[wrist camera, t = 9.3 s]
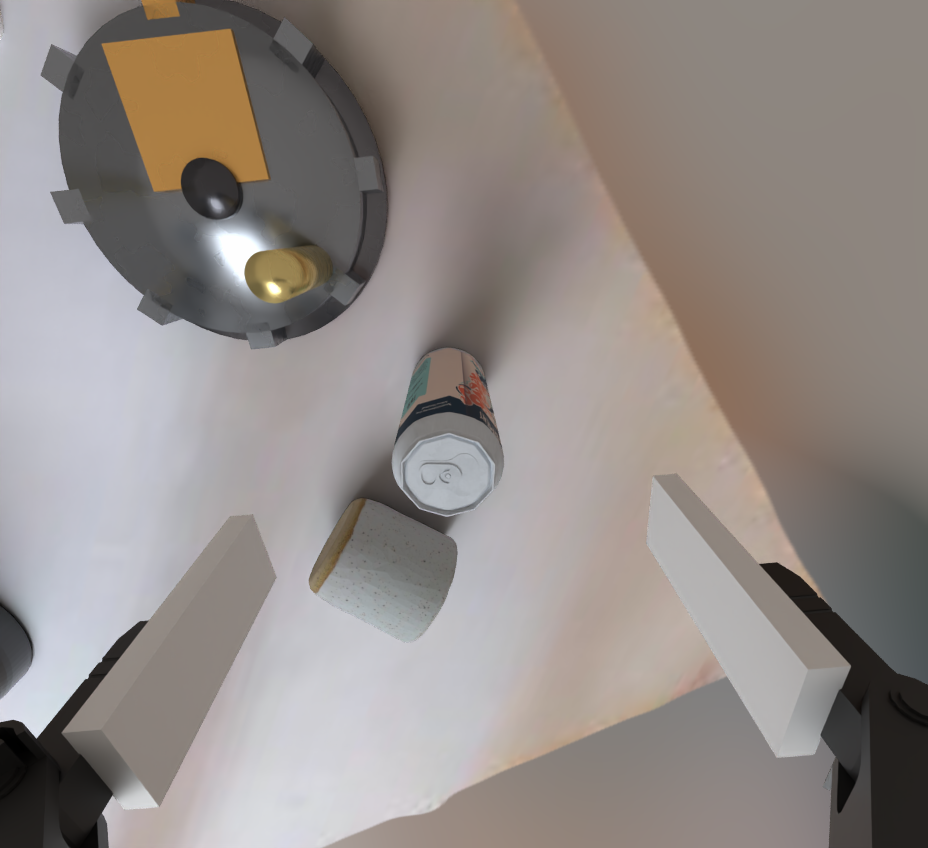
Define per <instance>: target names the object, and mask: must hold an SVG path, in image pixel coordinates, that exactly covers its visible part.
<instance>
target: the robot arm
mask: <svg viewBox="0 0 928 848" xmlns="http://www.w3.org/2000/svg"><path fill="white" fill-rule="evenodd" d="M646 544H647V545H648V547H649V548H650V550H651V552H652V553H653V555H654V557H655V558H656V560H657V562H658V563H659V565H660V567H661V568H662V570H663V571H664V573H665V575H666V576H667V578H668V580H669V581H670V583H671V585H672V586H673V588H674V590H675V591H676V593H677V594H678V596H679V598H680V599H681V601H682V603H683V604H684V606H685V608H686V609H687V611H688V613H689V614H690V616H691V617H692V619H693V621H694V622H695V624H696V626H697V627H698V629H699V631H700V632H701V634H702V636H703V637H704V639H705V640H706V642H707V644H708V645H709V647H710V649H711V650H712V652H713V654H714V655H715V657H716V659H717V660H718V662H719V663H720V665H721V667H722V668H723V670H724V672H725V673H726V675H727V677H728V678H729V679H730V681H731V683H732V685H733V686H734V688H735V690H736V691H737V693H738V695H739V696H740V698H741V700H742V701H743V703H744V704H745V706H746V708H747V709H748V711H749V713H750V714H751V716H752V718H753V719H754V721H755V723H756V724H757V726H758V728H759V729H760V731H761V732H762V734H763V736H764V737H765V739H766V741H767V742H768V744H769V745H770V747H771V749H772V751H773V752H774V754H775V755H776V757H777V758H778V757H791V756H803V755H814V754H815V751H816V749H817V747H818V744H819V742H820V739H821V737H822V738H823V739H824V741H825V742H826V744H827V745H828V746H829V748H830V749H831V751H832V752H833V753H834V755H835V756H836V758H835V760H834V762H833V764H832V767H831V769H830V771H829V773H828V775H827V778H826V780H825V783H824V785H823V787H824V788H826V789H827V790H829V791H830V790H831V811H830V834H829V848H928V685H927V684H925V683H922V682H921V681H919V680H917V679H915V678H911V677H908V676H904V675H901V674H897V673H896V672H895V671H894V670H892V669H891V668H890V667H889V666H888V665H887V664H886V663H885V662H884V661H883V660H882V659H881V658H880V657H879V656H878V655H877V654H876V653H875V652H874V651H873V650H872V649H871V648H870V647H869V646H868V645H867V644H866V643H865V642H864V641H863V640H862V639H861V638H860V637H859V636H858V635H857V634H856V633H855V632H854V631H853V630H852V629H851V628H850V627H849V626H848V624H846V623H845V621H843V619H841V617H840V616H839V615H838V614H837V613H835V612H833V611H832V608H831V607H830V606H829V605H828V604H827V603H826V602H825V601H824V600H823V599H822V598H821V597H820V598H819V597H818V596H817V593H816V592H815V591H814V590H813V589H812V588H811V587H810V586H809V585H808V584H807V583H806V582H805V581H804V580H803V579H802V578H801V577H800V576H798V575H797V574H795V573H793V572H792V571H790V570H789V569H787V568H785V567H784V566H782V565H780V564H779V563H777V562H776V563H765V564H758V563H757V562H756V560H755V559H754V558H753V557H752V556H751V555H750V554H749V553H748V552H747V550H746V549H745V548H744V547H743V546H742V545H741V544H740V543H739V542H738V541H737V539H736V538H735V537H734V536H733V535H732V534H731V533H730V532H729V531H728V530H727V528H726V527H725V526H724V525H723V524H722V523H721V522H720V521H719V520H718V518H717V517H716V516H715V515H714V514H713V513H712V512H711V511H710V510H709V509H708V507H707V506H706V505H705V504H704V503H703V502H702V501H701V500H700V499H699V497H698V496H697V495H696V494H695V493H694V492H693V491H692V490H691V489H690V488H689V486H688V485H687V484H686V483H685V482H684V481H683V480H682V479H681V478H680V477H679V475H678V474H667V475H657V476H653V480H652V490H651V500H650V510H649V521H648V531H647V541H646ZM275 579H276V575H275V572H274V569H273V567H272V564H271V561H270V559H269V556H268V553H267V551H266V548H265V545H264V543H263V540H262V538H261V535H260V532H259V530H258V527H257V524H256V522H255V519H254V516H253V514H252V515H242V516H231V517H229V519H228V520H227V521H226V522H225V524H224V525H223V526H222V528H221V529H220V530H219V531H218V533H217V534H216V535H215V537H214V538H213V539H212V540H211V542H210V543H209V544H208V545H207V547H206V548H205V549H204V551H203V552H202V553H201V554H200V556H199V557H198V558H197V560H196V561H195V562H194V563H193V565H192V566H191V567H190V569H189V570H188V571H187V572H186V574H185V575H184V576H183V578H182V579H181V580H180V581H179V583H178V584H177V585H176V587H175V588H174V589H173V590H172V592H171V593H170V594H169V596H168V597H167V598H166V599H165V601H164V602H163V603H162V605H161V606H160V607H159V608H158V610H157V611H156V612H155V614H154V615H153V616H152V617H151V619H150V620H149V621H140V622H138V623H137V624H136V625H135V626H134V627H132V628H131V629H130V630H129V631H127V632H126V633H125V634H124V635H123V636H121V637H120V638H119V639H118V640H117V641H116V642H115V644H114V645H113V646H112V647H111V649H110V650H109V651H108V652H107V653H106V655H105V656H104V657H103V658H102V662H101V663H98V664H97V666H96V667H95V668H94V669H93V671H92V672H91V673H90V674H89V678H88V679H85V680H84V682H83V683H82V684H81V685H80V686H79V688H78V689H77V690H76V691H75V692H74V694H73V695H72V696H71V697H70V699H69V700H68V701H67V702H66V703H65V705H64V706H63V707H62V708H61V710H60V711H59V712H58V713H57V714H56V716H55V717H54V718H53V719H52V721H51V722H50V723H49V724H48V725H47V727H46V728H45V729H44V730H43V732H42V733H41V734H40V735H39V736H38V738H37V739H36V738H35V736H34V735H33V734H32V733H31V732H30V731H29V730H28V728H27V727H26V726H25V725H24V724H23V723H22V722H19V721H16V720H10V721H5V722H0V848H109V846H108V832H107V823H106V820H105V818H104V816H103V814H102V812H103V810H104V808H105V807H106V805H107V803H108V802H109V800H110V798H111V797H112V795H113V796H114V797H115V799H116V800H117V801H118V802H119V803H120V805H121V806H122V807H123V808H124V810H128V809H141V808H153V807H160V805H161V803H162V801H163V799H164V797H165V795H166V793H167V791H168V789H169V787H170V785H171V783H172V781H173V779H174V777H175V775H176V773H177V772H178V770H179V768H180V766H181V764H182V762H183V760H184V758H185V756H186V754H187V752H188V750H189V748H190V746H191V744H192V742H193V740H194V738H195V736H196V734H197V732H198V730H199V728H200V726H201V724H202V723H203V721H204V719H205V717H206V715H207V713H208V711H209V709H210V707H211V705H212V703H213V701H214V699H215V697H216V695H217V693H218V691H219V689H220V687H221V685H222V683H223V681H224V679H225V677H226V675H227V674H228V672H229V670H230V668H231V666H232V664H233V662H234V660H235V658H236V656H237V654H238V652H239V650H240V648H241V646H242V644H243V642H244V640H245V638H246V636H247V634H248V632H249V630H250V628H251V626H252V625H253V623H254V621H255V619H256V617H257V615H258V613H259V611H260V609H261V607H262V605H263V603H264V601H265V599H266V597H267V595H268V593H269V591H270V589H271V587H272V585H273V583H274V581H275ZM31 659H32V651H31V646H30V643H29V640H28V638H27V636H26V634H25V632H24V630H23V629H22V627H21V626H20V625H19V624H18V622H17V621H16V620H15V619H14V618H13V617H12V616H11V615H10V614H9V613H8V612H7V611H6V610H5V609H4V608H3V607H1V606H0V699H1V698H2V697H4V696H5V695H6V694H7V693H8V691H9V690H10V689H11V688H12V687H13V686H14V685H15V684H16V683H17V682H18V681H19V680H20V679H21V678H22V677H23V676H24V675H25V673H26V672H27V671H28V669H29V667H30V664H31ZM831 787H832V788H831Z"/></svg>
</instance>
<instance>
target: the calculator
mask: <svg viewBox="0 0 928 848" xmlns="http://www.w3.org/2000/svg"><path fill="white" fill-rule="evenodd" d="M3 33H4V28H3V18H2V14H1V10H0V40H2V36H3Z"/></svg>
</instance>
